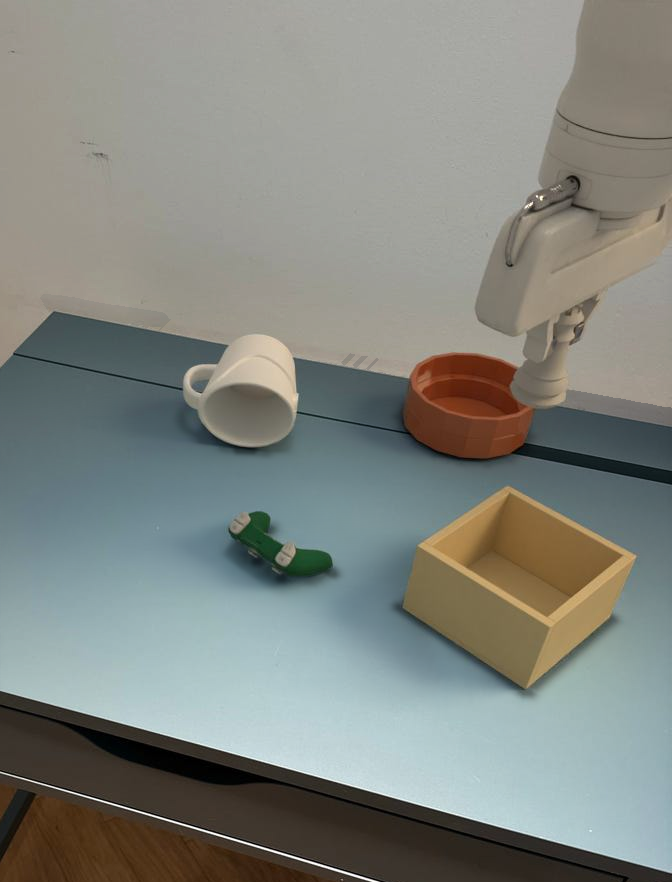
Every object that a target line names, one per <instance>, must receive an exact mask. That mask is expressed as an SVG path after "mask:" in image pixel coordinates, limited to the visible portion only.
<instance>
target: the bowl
mask: <svg viewBox="0 0 672 882" xmlns="http://www.w3.org/2000/svg"><path fill="white" fill-rule="evenodd" d="M519 367H520V366H517V365H515V364H512V363H510V362H508V361H506V360H503V359H501V358H498V357H493V356H490V355H485V354H481V353H477V352H476V353H474V352H455V351H454V352H453V351H452V352H448V353H442V354H436V355H431V356H429V357H428V358H426V359H424V360H422V361H420V362H418V363H416V364H415V367H413V369H412V371H411V373H410V375H409V379H408V383H407V388H406V393H405V398H404V404H403V407H402V418H403V424H404V427H405V428H406V429H407V430H408V432H409V433H410V434H411V435H412V436H413V437H414V439H416V440H417V441H419V442H420V443H422V444H424V445H426V446H428V447H429V448H431V449H433V450H435V451H437V452H440V453H443V454H447V455H450V456H455V457H459V458H466V459H467V458H468V459H492V458H496V457H497V458H498V457H501V456H506V455H509V454H512V452H514V451H516V450H517V449H519V448H520V447H522V446H523V445H524V444H525V442H526V439H527V437H528V434H529V432H530V428H531V426H532V423H533V418H534V415H535V412H536V410H537V408H532V407H528V406H526V405H524V404H522V403H520V402H518V401H517V400H516V399H515V398H514V397H513V394H512V392H511V389H510V385H511V382H512V381H514V378H513V377H514V374H515V372H516V371H517V369H518V368H519Z"/></svg>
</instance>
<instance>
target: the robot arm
mask: <svg viewBox="0 0 672 882" xmlns="http://www.w3.org/2000/svg"><path fill="white" fill-rule="evenodd" d="M582 4H583V5H582V9H581V12H580V15H579V18H578V19H579V20H578V23H577V27H576V32H575V54H574V62H573V66H572V70H571V73H570V75H569V78H568V80H567V82H566V84H565V86H564V88H562V91H561V93H560V95H559V97H558V99H557V103H556V106H555V110H554V113H553V119H552V122H551V125H550V129H549V133H548V136H547V140H546V143H545V147H544V151H543V155H542V159H541V162H540V166H539V170H538V174H537V181H538V184H539V186H540V187H541V189H538V190H535V191H534V192H532V193H531V194H530V195H529V196H527V198H526V201H525V204H524V205H523V206H522V207H521V208H520V209H518V210H516V211H514V212H513V213H512V214H511V215H510V216H509V217H508V218H507V219H506V220H505V221H504V223H503V224H502V226H501V228H500V230H499V232H498V235H497V237H496V238H495V241H494V244H493V247H492V250H491V252H490V254H489V258H488V260H487V264H486V267H485V269H484V272H483V275H482V279H481V283H480V285H479V288H478V291H477V295H476V299H475V304H474V312H475V315H476V319H477V321H478V322H479V323H480V324H482V325H484V326H486V327H488V328H490V329H492V330H494V331H496V332H499V333H501V334H503V335H505V336H508V337H511V338H516V337H518V336H521V335H522V334H524V333H525V334H526V338H525V341H524V345H523V349H522V355H523V357H524V358H525V359H526V360H527V359H529V360H531V361H533V362H535V363H540V362H542V361H544V360H545V359H547V358H549V357H550V356H552V355H553V353H554V348H555V346H556V343H557V340H558V337H555V336H553V324H554V323H556V322H558V320H559V317H560V314H561V313H562V312H564V311H566V310H568V309H570V308H572V307H574V306H576V305H577V304H579V303H581V304H583V306H582V309H581V311H582V313H583V316H584V319H583V321H582V322H581V323H579V324H578V325H577V326H575V327H574V330H573V332H574V334H575V337H574V339H572V340H571V341H570V343H569V346H572V345H574V344H576V343H578V342H580V341H581V340H583V338H584V336H585V333H586V330H587V328H588V325H589V322H590V321H591V319H592V318H593V316H594V315H595V313H596V312H597V311H598V309H599V307H600V306H601V304H602V303H603V302H604V299H605V298H606V295H607V293H608V290H609V289H610V288H612V287H614V286H615V285H617V284H619V283H621V282H623V281H624V280H626V279H628V278H630V277H632V276H634V275H636V274H638V273H640V272H642V271H643V270H646V269H647V268H650V267H651V266H653V265H655V264H656V263H657V261H658V260H659V259H660V258H661V256H662V255H663V254H664V252H665V251H666V250H667V248H668V247H669V244H670V243H671V241H672V0H584V1H583V3H582ZM569 346H568V347H569Z"/></svg>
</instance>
